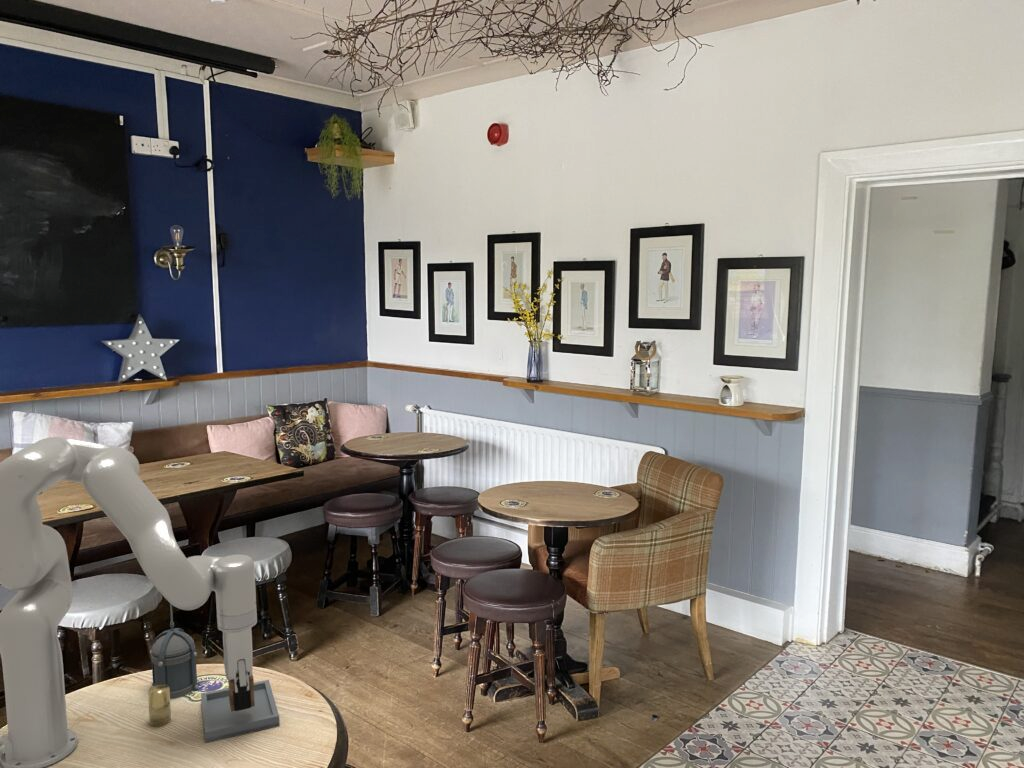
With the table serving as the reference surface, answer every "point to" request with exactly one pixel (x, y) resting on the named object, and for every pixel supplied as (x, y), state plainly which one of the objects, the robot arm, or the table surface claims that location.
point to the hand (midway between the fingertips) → (241, 701)
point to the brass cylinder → (159, 705)
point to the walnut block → (232, 689)
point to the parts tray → (238, 713)
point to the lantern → (174, 661)
